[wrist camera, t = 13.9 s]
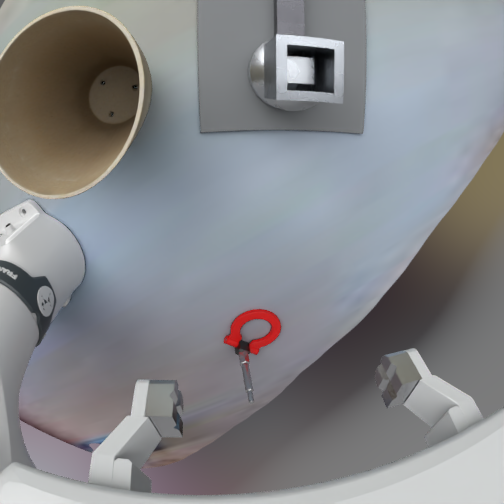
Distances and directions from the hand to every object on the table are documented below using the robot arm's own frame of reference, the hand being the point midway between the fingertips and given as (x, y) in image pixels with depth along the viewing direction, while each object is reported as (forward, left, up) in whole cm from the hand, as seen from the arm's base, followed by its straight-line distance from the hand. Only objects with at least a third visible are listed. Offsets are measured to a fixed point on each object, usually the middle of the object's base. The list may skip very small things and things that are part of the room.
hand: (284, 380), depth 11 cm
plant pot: (-14, +11, -29) cm, 34 cm away
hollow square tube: (+6, +12, -26) cm, 29 cm away
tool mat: (+6, +18, -29) cm, 35 cm away
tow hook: (+2, -27, -30) cm, 40 cm away
